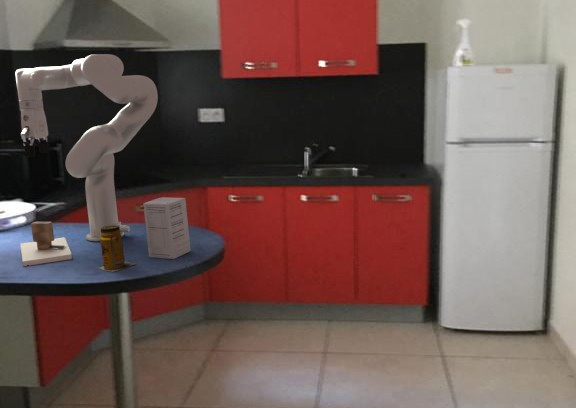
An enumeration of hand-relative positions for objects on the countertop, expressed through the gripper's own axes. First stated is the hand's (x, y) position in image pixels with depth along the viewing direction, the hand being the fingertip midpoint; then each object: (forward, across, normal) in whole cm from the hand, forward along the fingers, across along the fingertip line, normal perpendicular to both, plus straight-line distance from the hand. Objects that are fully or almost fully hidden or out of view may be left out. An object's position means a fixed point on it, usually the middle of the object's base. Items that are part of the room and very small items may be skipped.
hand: (37, 155), depth 230 cm
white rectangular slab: (+28, -25, -11) cm, 39 cm away
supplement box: (+28, -29, -53) cm, 67 cm away
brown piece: (+26, -25, -13) cm, 39 cm away
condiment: (+28, -41, -41) cm, 64 cm away
